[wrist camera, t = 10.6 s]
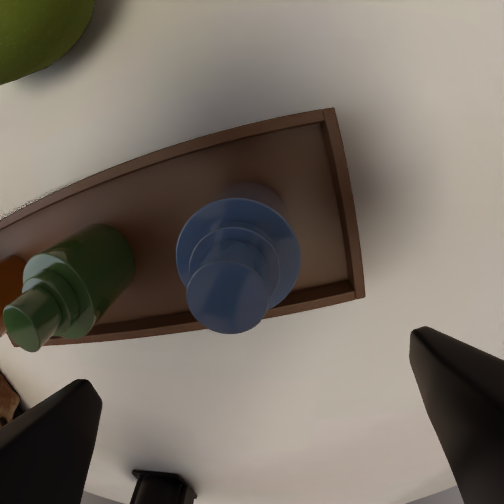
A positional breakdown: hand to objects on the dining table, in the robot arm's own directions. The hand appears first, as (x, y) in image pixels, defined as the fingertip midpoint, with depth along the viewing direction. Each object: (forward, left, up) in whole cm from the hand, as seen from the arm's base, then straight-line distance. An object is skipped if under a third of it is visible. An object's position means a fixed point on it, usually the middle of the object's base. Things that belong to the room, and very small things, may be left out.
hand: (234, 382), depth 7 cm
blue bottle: (0, +1, -11) cm, 11 cm away
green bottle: (-10, +1, -11) cm, 14 cm away
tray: (-9, +1, -11) cm, 14 cm away
